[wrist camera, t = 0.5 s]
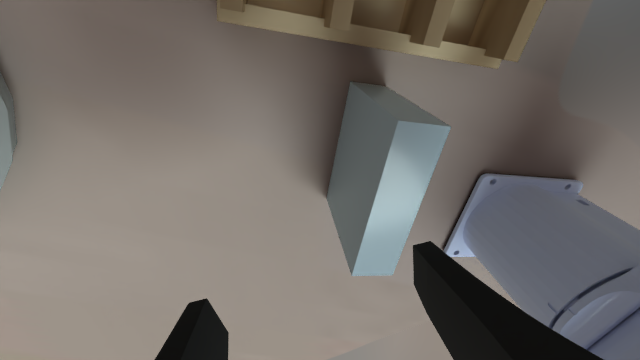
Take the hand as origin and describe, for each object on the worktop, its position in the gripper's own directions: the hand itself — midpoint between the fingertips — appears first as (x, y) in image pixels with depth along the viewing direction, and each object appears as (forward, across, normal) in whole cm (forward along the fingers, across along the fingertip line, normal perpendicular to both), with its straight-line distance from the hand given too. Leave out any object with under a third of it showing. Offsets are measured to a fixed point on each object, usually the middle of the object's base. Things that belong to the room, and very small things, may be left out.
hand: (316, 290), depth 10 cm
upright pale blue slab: (+10, -4, 0) cm, 11 cm away
